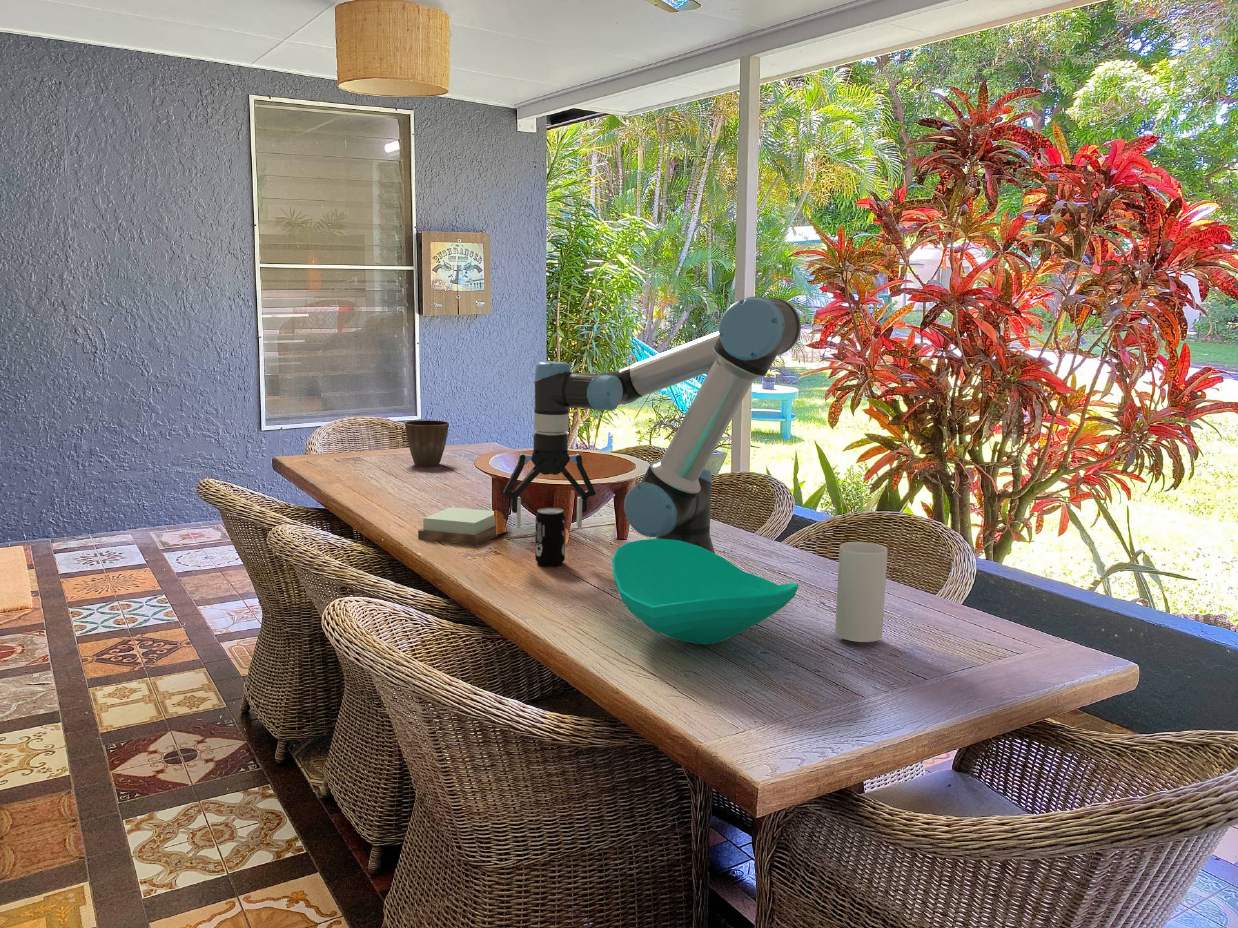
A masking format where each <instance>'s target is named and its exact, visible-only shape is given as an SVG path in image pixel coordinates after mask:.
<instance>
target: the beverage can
mask: <svg viewBox="0 0 1238 928" xmlns="http://www.w3.org/2000/svg"><path fill="white" fill-rule="evenodd" d="M534 546H535V555H534V557H535V559H534V560H535V561H536V562H537V563H538V565H540V566H545V567H546V566H547V567H554V566H560V565H562V564H563V562H564V561H565V559H566V516H565V513H564V509H562V508H559V507H543V508H542V507H541V508H539V509H537V514H536V516H535V545H534Z"/></svg>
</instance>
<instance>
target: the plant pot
mask: <svg viewBox="0 0 1238 928" xmlns="http://www.w3.org/2000/svg"><path fill="white" fill-rule="evenodd" d="M449 425H450V423H449V422H448V421H444V420H433V419H432V420H431V419H430V420H429V419H426V420H424V419H423V420H409V421H405V422H404V426H405V433H406V439H407V444H408V447H409V451H410V454H411V458H412V461H413V463H414V466H416V467H419V468H434V467H438V465H439V466H440V464H441V461H442V458H443V455H444V451H445V448H446V444H447V443H446V442H447V439H448V433H449V428H450V427H449Z"/></svg>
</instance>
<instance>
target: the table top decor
mask: <svg viewBox="0 0 1238 928" xmlns="http://www.w3.org/2000/svg"><path fill="white" fill-rule="evenodd" d="M611 563H612V576H613V579H614V583H615V586H616V588H617V591H618V594H619V596H620V598H621V602H622V603H623V604H624V605H625V607H626V608H627V610H628V611H629V612H630V613H631V614H632V615H634V616H635V617H636V618H637V619H638V620H640V621H641V622H642V623H643V624H645V625H646V626H648V628H650V630H652V631H655V632H657V633H659V634H661V635H664V636H667V637H670V638H672V639H674V640H676V641H677V640H678V641H681V642H687V643H691V644H695V645H696V644H697V645H712V644H718V643H722V642H725V641H726V640H728V639H730V638H732V637H734V636H735V635H738V634H740V633H742V632H744V631H746V630H747V629H749V628H752V627H753V626H755V625H757V624H759V623H761V622H763V621H764V620H766V619H767V618H768V617H771V616H772V615H773V614H775V613H777V612H778V611H780V610H781V609H783V608H784V607H785V606H786V605H787V604H788V603H789V602H791V601H792V599H794V598H795V597H796V593H797V591H798V589H799V584H798V583H799V582H790V583H784V584H783V583H782V584H777V583H774V581H773V582H772V581H770V580H768V579H765V578H764V577H761V576H758V575H755V574H753V573H749V572H746V571H745V570H744V571H743V569H741V568H739V567H737V566H736V565H735V564H733V563H732V562H731V561H729V560H727V559H726V558H725V557H722V556H720V555H718V554H717V553H716V552H715V553H712V552H710V551H708V550H706V549H704V548H702V547H700V546H696V545H693V544H690V543H686V542H683V541H679V540H669V539H656V538H649V539H647V538H646V539H638V540H634V541H629V542H627V543H625V544H623V545H621V546H620V547H617V548H616V550H615V553H614V555H613V557H612V559H611Z"/></svg>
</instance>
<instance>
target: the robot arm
mask: <svg viewBox="0 0 1238 928" xmlns="http://www.w3.org/2000/svg"><path fill="white" fill-rule="evenodd" d="M801 330H802V323H801V318H800V315H799V313H798V311H797V309H796V308H795V307H794V306H793V305H792V304H791V303H790V302H788V301H786V300H784V299H780V298H776V297H765V296H749V297H745V298H743V299H740V300H738V301H735V302H734V303H732V304H731V305H730V306H729V307H727V309H726V310H725V311H724V313H723V315H722V316H721V318H720V321H719V325H718V331H715V332H712V333H710V334H706V335H704V336H702V337H698V338H697V339H694V340H692V341H689V342H687V343H684V344H681V345H678V346H676V347H673V348H672V349H671V348H670V349H668V350H666V351H663V352H660V353H657V354H656V355H653V356H651V357H649V358H646V359H644V360H640V361H638V362H635V363H633V364H631V365H628V366H625V367H622V368H620V369H617V370H614V371H606V372H598V373H597V372H596V373H582V372H581V373H579V372H573V371H571V367H570V366H571V365H570V364H569V363H568V362H565V361H554V360H553V361H548V360H547V361H545V360H544V361H539V362H537V364H536V365H535V373H534V375H535V376H534V380H533V383H534V416H533V417H534V419H533V420H534V421H533V422H534V423H533V430H534V431H535V433H533V450H532V454H525V453H523V452H521V453H519V454H518V460H517V464H516V466H515V467H514V469H513V472H512V474H511V476H510V478H509V479H508V481H507V483H506V484H505V487H504V489H503V495H504V496H505V497H508V498H510V499H511V503H510V504H511V505H510V506H511V512H512V514H516V515H515V526H516V529H521V523H522V522H521V521H522V520H521V515H522V513H521V511H522V508H521V507H522V498H521V497H520V496H521V494H522V493H523V492H524V491H525V490H526V488H527V487H528V486H529V485H530V484H531V483H532V482H533V481H534V479H536V477H538V476H539V475H540V474H541V475H544V476H546V475H553V476H557V475H559V474H562V475H563V476H564V477H565V478H566V479H567V481H568V482H569V483H570V485H571V486H572V487H573V489H574V490H576V492H577V493H578V495H580V496H577V498H576V501H577V502H576V526H577V528H578V529H581V528H582V526H583V525H582V524H583V523H582V522H583V521H582V520H583V513H586V512H587V510H588V509H587V508H588V498H589V497H595V495H596V490H595V489H594V487H593V484H592V482H591V480H590V478H589V476H588V474H587V471H586V469H585V468H584V465H583V457H582V455H581V454H580V453H578V452H577V453H575V454H569V451H568V450H569V449H568V447H569V446H568V445H569V435H568V434H567V432H568V431H569V408H577V409H586V410H595V411H597V412H602V411H615V410H616V409H617V408H618V406H619V405H627V404H631V403H634V402H635V401H637V400H638V399H640V398H642V397H646V396H648V395H650V394H653V393H656V392H658V391H661V390H662V391H663V390H664V389H667V388H669V387H672V386H675V385H678V384H680V383H683V382H686V381H688V380H691V379H694V378H696V377H699V376H703V375H705V374H706V376H705V378H704V381H703V382H702V384H701V386H700V388H699V390H698V391H697V394H696V395H695V397H694V399H693V401H692V403H691V404H690V406H689V408H688V409H687V412H686V413H685V416H684V417H683V419H682V421H681V423H680V425H679V426H678V428H677V430H676V431H675V434H674V435H673V437H672V439H671V441H670V443H669V445H668V447H667V448H666V450H665V452H664V454H663V455H662V458H660V459H656V460H653V461H652V462H651V463H650V464H649V466H648V468H647V469H646V472H645V474H644V476H643V478H642V479H641V481H640V482H639V483H636V484H634V485H633V486H632V487H631V488H630V489H629V491H628V492H627V493H626V495H625V497H624V503H623V511H624V514H625V517H626V519H627V522H628V524H629V525H630V526H631V528H632V529H633V530H634V531H635V532H637V533H638V534H640V535H642V536H644V537H647V538H655V539H669V540H679V541H683V542H686V543H690V544H693V545H696V546H700V547H702V548H704V549H706V550H708V551H710V552H712V553H715V554H716V551H715V548H714V545H713V544H714V543H713V542H712V538H711V514H712V513H711V510H712V487H713V479H712V472H711V470H710V469H708V468H707V467H706V466H707V464H708V462H709V460H710V458H711V457H712V455H713V453H714V452H715V450H716V448H717V446H718V445H719V443H720V441H721V439H722V437H723V435H724V434H725V432H726V431H727V428H729V425H730V423H731V421H732V419H734V417H735V414H736V413H737V411H738V409H739V408H740V405H741V404H742V402H743V400H744V399H745V397H746V395H747V393H748V391H749V389H750V387H751V386H752V385H753V383H754V381H756V380H758V379H761V378H762V379H763V378H764V377H766V376H767V373H768V371H769V370H770V368H771V367H772V365H773V363H774V361H775V360H776V358H777V356H780V355H783V354H785V353H788V351H790V350H791V349H792V348H793V347H794V346H795V345H796V343H797V342H798V340H799V338H800V335H801V332H802V331H801ZM530 461H531V462H532V464H533V465H534V466H533V467H532V468H531V470H530V471H529V472H528V473H527V475H526V476H525V477H524V478H523V479H522V480H521V482H520V483H519V484H518V485H517V486H516V488H515V489H514V490H513V488H514V486H515V484H516V483H517V481H518V479H519V477H520V476H521V473H522V471H523V469H524V467H525V465H527V464H529V462H530ZM570 462H572V464H573V465H575V466H576V468H577V470H578V472H579V475H580V476H581V479H582V481H583V483H584V485H585V487H586V489H587V490H584V489H583V487H581V485H580V484H579V483H578V482H577V480H576V479H575V478H574V476H572V474H571V473H570V472H569V471H568V469H567V468H566V467H567V465H568V464H569V463H570Z"/></svg>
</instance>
